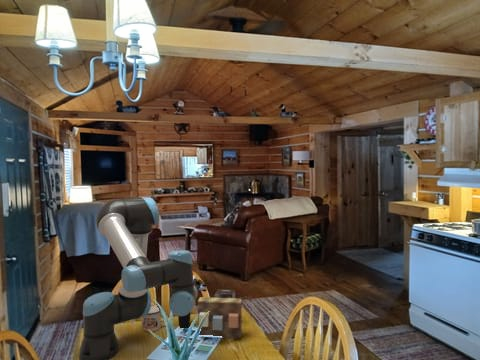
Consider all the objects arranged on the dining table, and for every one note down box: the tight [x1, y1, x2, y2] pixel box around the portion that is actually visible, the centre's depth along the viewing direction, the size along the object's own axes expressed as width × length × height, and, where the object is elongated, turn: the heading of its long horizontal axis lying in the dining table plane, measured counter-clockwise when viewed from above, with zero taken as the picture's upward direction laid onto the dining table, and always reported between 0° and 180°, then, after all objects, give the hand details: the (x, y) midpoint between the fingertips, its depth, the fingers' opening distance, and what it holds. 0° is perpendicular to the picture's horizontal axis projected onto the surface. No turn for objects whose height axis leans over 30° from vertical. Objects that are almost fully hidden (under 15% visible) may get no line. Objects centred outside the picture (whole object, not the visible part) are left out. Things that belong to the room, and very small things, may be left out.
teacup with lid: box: [141, 302, 165, 333], centre depth 166 cm, size 12×9×12 cm
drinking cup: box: [177, 311, 192, 329], centre depth 167 cm, size 8×8×20 cm
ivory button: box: [199, 312, 209, 327], centre depth 157 cm, size 4×8×5 cm, turn 175°
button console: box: [197, 296, 243, 340], centre depth 159 cm, size 19×6×17 cm, turn 85°
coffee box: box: [214, 288, 237, 298], centre depth 170 cm, size 9×6×16 cm
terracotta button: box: [229, 313, 238, 328], centre depth 156 cm, size 4×8×5 cm, turn 175°
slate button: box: [213, 315, 223, 330], centre depth 154 cm, size 4×8×5 cm, turn 175°
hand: (193, 278), depth 146 cm, fingers closed
